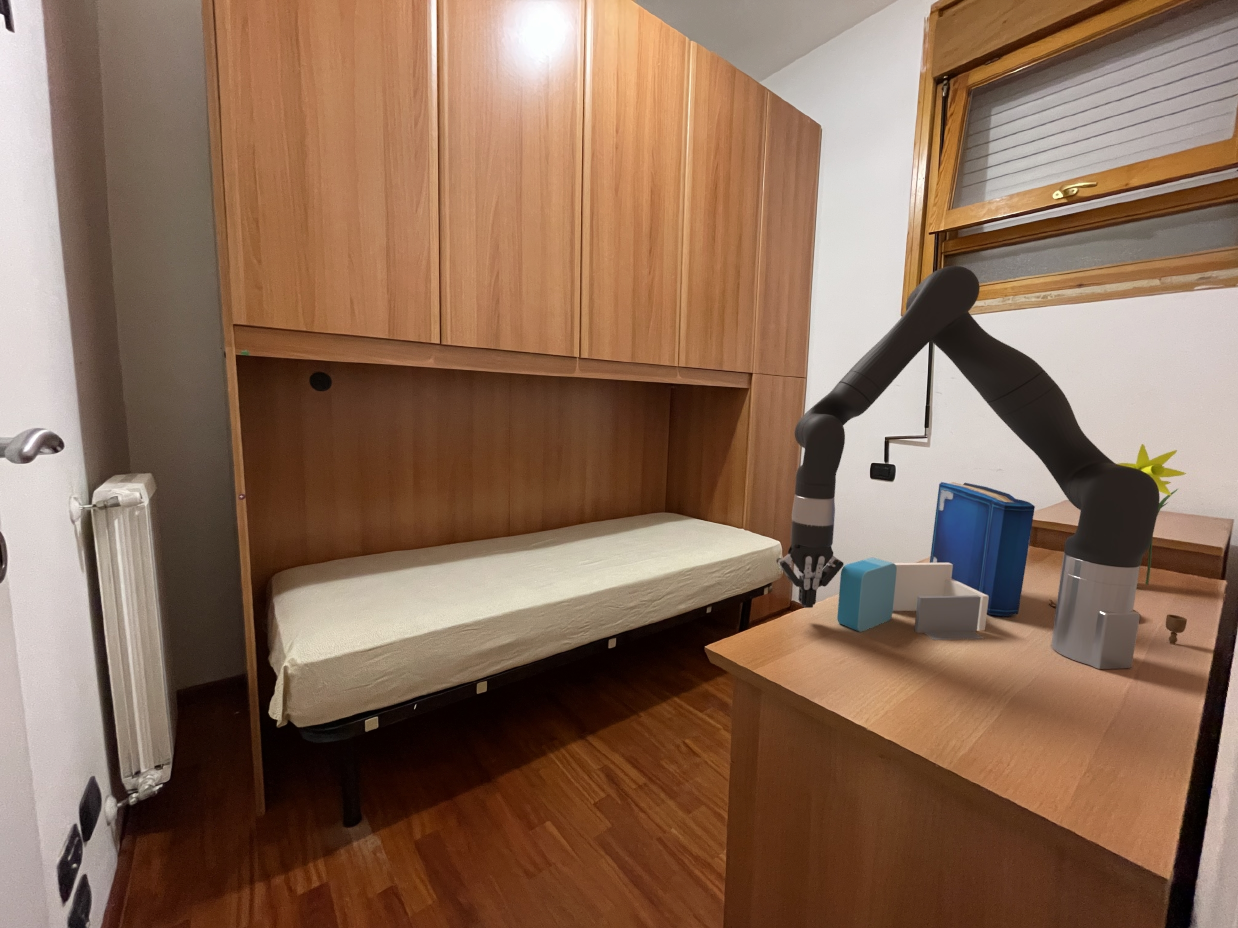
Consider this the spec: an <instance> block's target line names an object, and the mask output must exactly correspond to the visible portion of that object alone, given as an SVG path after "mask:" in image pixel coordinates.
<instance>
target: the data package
mask: <svg viewBox="0 0 1238 928" xmlns="http://www.w3.org/2000/svg"><path fill="white" fill-rule="evenodd" d="M894 563H895V562H890V561H887V560H883V559H880V558H876V557H869V558H866V559H862V560H859V561H855V562H852V563H847V564H844V565H843V567H842V568H841V572H840V578H839V579H840V582H839V590H838V591H839V593H838V605H837V617H836V618H837V619H836V620H837V622H838V623H839V624H840V625H842V626H844V625H845V627H848V628H849V629H852V630H854V631H857V632H859V633H862V631H863V632H865V631H868V630H869V628H870V629H872V628H875V627H878V626H880V625H882V624H884V622H885V623H888V622H889V621H890V620H891V618H892V616H893V613H894V611H893V603H894V592H895V582H896V571H897V568H896V565H895V564H894ZM881 623H882V624H881ZM879 624H880V625H879ZM874 626H875V627H874ZM867 629H868V630H867Z"/></svg>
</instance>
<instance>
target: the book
mask: <svg viewBox="0 0 1238 928" xmlns="http://www.w3.org/2000/svg"><path fill="white" fill-rule="evenodd" d="M1035 509H1036V506H1035V505H1034V504H1033V503H1031V502H1030V501H1026V500H1023V499H1018V498H1015V497H1014V496H1013V495H1011V494H1010V493H1008V492H1004V491H1001V490H997V489H994V488H991V487H988V486H984V485H979V484H974V483H969V482H964V483H963V484H961V483H957V482H949V483H948V482H943V481H941V482H939V484H938V492H937V499H936V507H935V516H934V525H933V532H932V533H933V534H932V540H931V541H932V542H931V549H930V550H931V551H930V556H929V557H930V558H929V563H951V564H953V568H952V577H951V578H952V579H954V580H956V581H958V582H960V583H962V584H964V585H966V586H969V587H971V588H973V589H975V590H977V591H979V592H981V593H983V594H986V595H988V596H989V599H988V607H987V614H988V615H989V616H990V615H991V616H997V617H1010V616H1014V615H1018V614H1019V609H1020V604H1021V599H1022V592H1023V591H1022V589H1023V585H1024V578H1025V572H1026V566H1027V559H1028V553H1029V547H1030V546H1029V545H1030V540H1031V534H1032V528H1033V521H1034V515H1035Z"/></svg>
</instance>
